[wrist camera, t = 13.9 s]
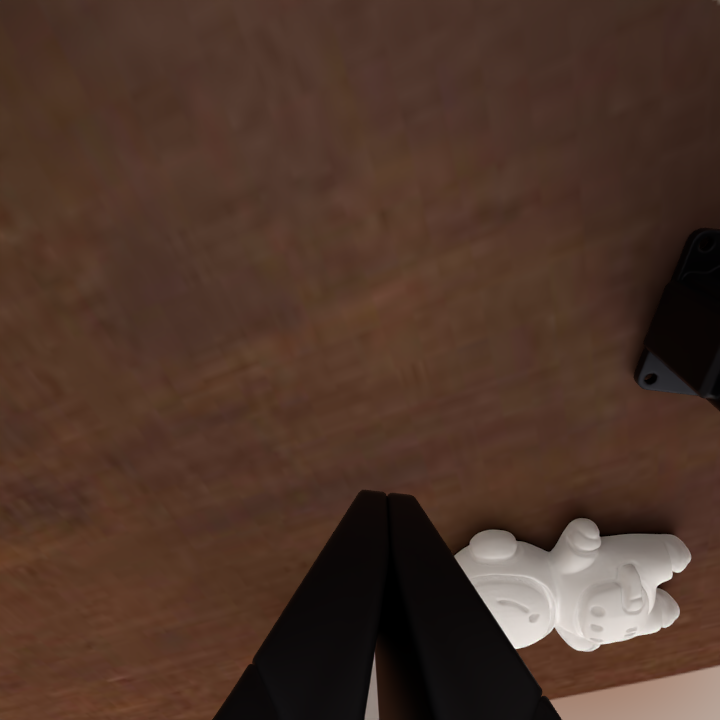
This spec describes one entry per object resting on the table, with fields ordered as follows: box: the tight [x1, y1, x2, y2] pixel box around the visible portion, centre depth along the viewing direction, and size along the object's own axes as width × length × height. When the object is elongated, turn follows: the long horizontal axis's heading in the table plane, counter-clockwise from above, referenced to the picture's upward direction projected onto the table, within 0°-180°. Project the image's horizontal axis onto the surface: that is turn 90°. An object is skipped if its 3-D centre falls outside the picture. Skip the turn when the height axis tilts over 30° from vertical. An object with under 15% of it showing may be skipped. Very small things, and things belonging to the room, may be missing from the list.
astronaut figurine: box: [454, 518, 691, 651], centre depth 25 cm, size 9×12×3 cm
